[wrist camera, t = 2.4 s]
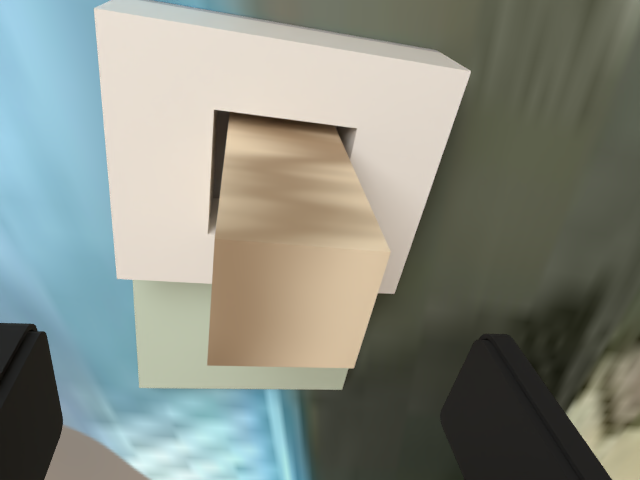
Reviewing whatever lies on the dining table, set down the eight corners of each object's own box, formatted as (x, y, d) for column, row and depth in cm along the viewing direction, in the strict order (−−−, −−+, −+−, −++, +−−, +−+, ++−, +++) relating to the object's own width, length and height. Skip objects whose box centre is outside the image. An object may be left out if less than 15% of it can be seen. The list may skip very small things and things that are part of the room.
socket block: (436, 50, 18) (470, 71, 15) (377, 250, 24) (394, 293, 21) (122, -5, 16) (94, 8, 13) (135, 232, 21) (117, 278, 18)
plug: (329, 113, 19) (390, 252, 10) (312, 197, 21) (353, 368, 13) (231, 99, 18) (214, 239, 10) (225, 189, 20) (207, 365, 12)
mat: (372, 265, 24) (376, 277, 23) (339, 376, 29) (342, 389, 28) (136, 249, 22) (131, 261, 21) (142, 374, 26) (139, 388, 26)
